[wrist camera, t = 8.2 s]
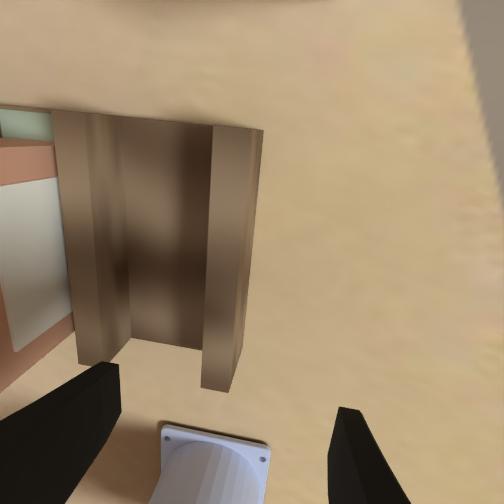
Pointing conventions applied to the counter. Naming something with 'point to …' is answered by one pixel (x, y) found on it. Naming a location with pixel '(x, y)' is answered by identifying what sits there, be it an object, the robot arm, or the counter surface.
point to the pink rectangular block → (31, 257)
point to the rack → (153, 230)
